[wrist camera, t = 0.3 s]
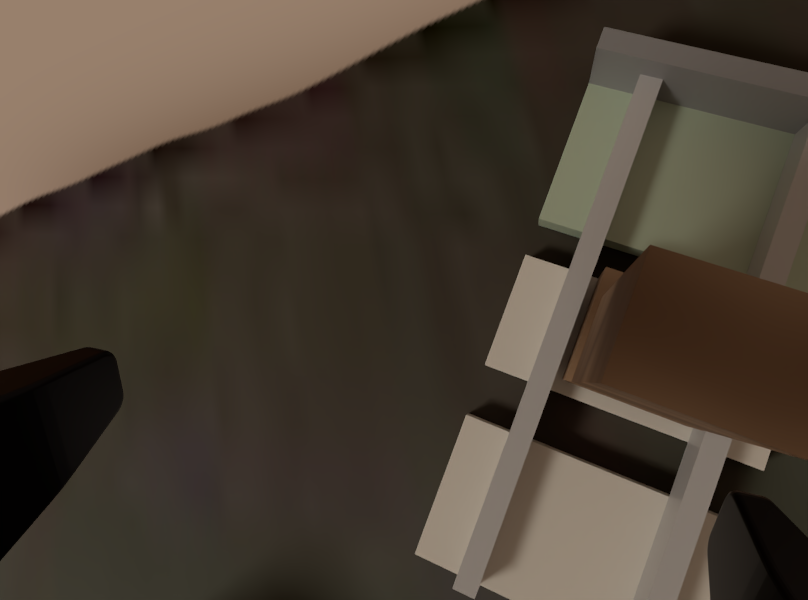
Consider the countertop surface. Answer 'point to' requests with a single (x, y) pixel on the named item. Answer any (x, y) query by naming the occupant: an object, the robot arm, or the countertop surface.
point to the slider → (699, 349)
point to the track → (567, 304)
